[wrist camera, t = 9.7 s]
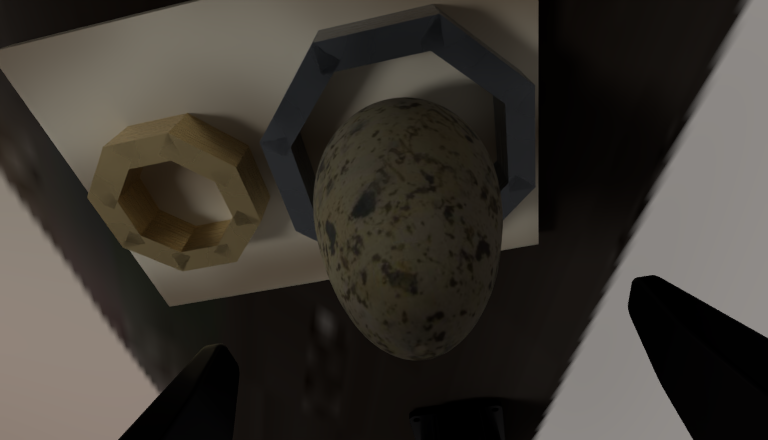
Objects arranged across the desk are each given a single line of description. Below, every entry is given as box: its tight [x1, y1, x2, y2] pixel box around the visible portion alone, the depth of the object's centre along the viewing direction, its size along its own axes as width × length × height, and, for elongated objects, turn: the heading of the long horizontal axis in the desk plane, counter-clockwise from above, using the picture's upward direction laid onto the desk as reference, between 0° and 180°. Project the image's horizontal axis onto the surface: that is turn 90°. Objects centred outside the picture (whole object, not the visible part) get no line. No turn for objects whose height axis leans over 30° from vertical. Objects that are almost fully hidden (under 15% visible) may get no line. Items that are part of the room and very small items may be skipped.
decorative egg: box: [313, 97, 503, 360], centre depth 13 cm, size 6×6×10 cm
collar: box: [260, 4, 536, 242], centre depth 17 cm, size 10×10×2 cm
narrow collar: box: [87, 113, 270, 272], centre depth 18 cm, size 6×6×2 cm
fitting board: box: [0, 0, 538, 306], centre depth 18 cm, size 13×19×1 cm
